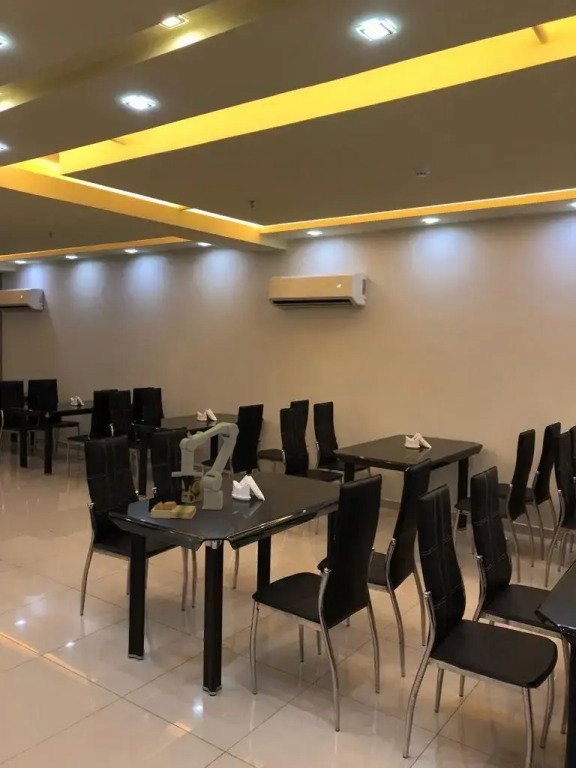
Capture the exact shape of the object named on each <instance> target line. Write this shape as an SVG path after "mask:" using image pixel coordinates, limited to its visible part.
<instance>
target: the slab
mask: <svg viewBox="0 0 576 768" xmlns="http://www.w3.org/2000/svg"><path fill="white" fill-rule="evenodd" d="M196 513H197V506H196V505H176V507H175V508H173V509H172V510H171V512H170V518H181V519H182V520H183V519H184V520H186V519H187V520H192V519H193V517H194V516H195V515H196ZM170 518H169V519H170ZM181 519H180V520H181Z"/></svg>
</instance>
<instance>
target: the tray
mask: <svg viewBox="0 0 576 768" xmlns="http://www.w3.org/2000/svg"><path fill="white" fill-rule="evenodd" d="M171 510H172V509H166V510H156V509H155V507H154V506H153V508H152V509H151V510H150V519H170V512H171Z"/></svg>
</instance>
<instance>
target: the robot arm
mask: <svg viewBox="0 0 576 768" xmlns="http://www.w3.org/2000/svg"><path fill="white" fill-rule="evenodd" d="M239 433H240V431H239V427H238V424H236V423H231V422H225V421H221V422H219V423H217V424H216V425H214V426H213V427H211V428H210V429H208V430H206V431H204V432H203V431H196V433H195V434H193V435H189V437H188V438H187V437H185V438H182V439H181V440H180V443H179V446H178V447H179V448H180V452H181V466H180V468H181V469H180V470H181V471H172V472H171V477H173V478H174V477H181V481H182V480H183V483H184V486H185V492H188V490H189V486H190V484H191V481H192V479H193V476H202V479H201V488H202V489H203V506H202V507H201V510H215V511H217V510H219V511H220V510H222V508H223V505H224V504H223V503H224V500H223V497H224V495H223V494H224V493H223V490H221V487H222V483H223V476H222V473H223V471H224V469H225V467H226V465H227V463H228V461H229V458H230V456H231V454H232V452H233V450H234V448H235V446H236V443H237V437H238V435H239ZM216 435H220V437H221V438H222V440H223V444H222V445H221V448H220V451H219V452H218V455H217V457H216V459H215V461H214V463H213V465H212V466H211V469H210V470H208V471H207V472H206V473H205V475H203V471H202V472H193V469H194V461H195V460H194V457H195V456H194V455H195V454H194V452H195V450H196V449H197V447H199V446H201V445H203V444H205V443H206V442H207V440H208V439H209V438H212V437H214V436H216Z"/></svg>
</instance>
